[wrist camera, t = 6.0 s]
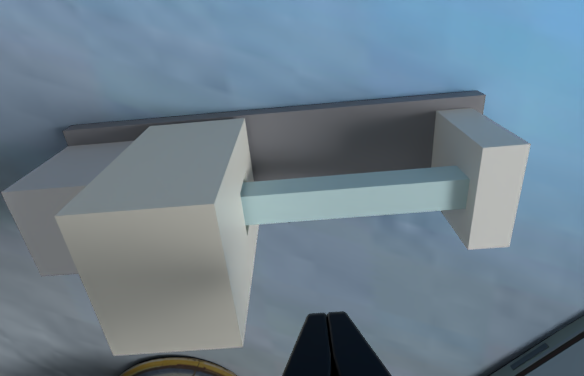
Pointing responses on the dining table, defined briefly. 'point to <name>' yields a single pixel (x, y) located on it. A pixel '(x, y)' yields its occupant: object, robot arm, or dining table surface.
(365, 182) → the grey piece
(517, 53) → the dining table surface
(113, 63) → the dining table surface
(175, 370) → the apothecary jar
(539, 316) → the dining table surface
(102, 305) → the white block
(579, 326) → the smartphone
